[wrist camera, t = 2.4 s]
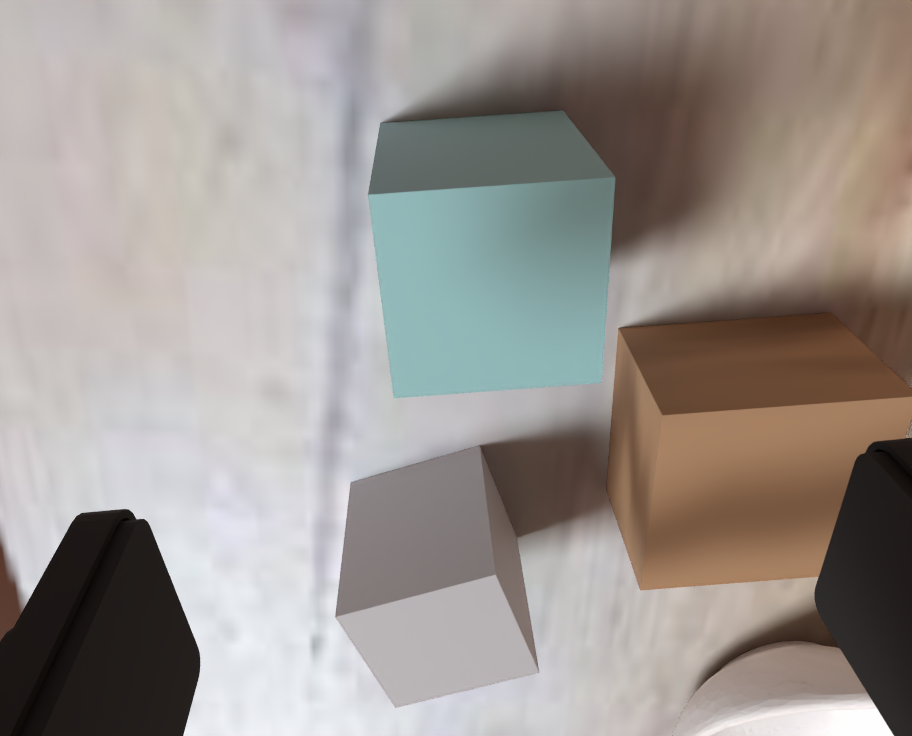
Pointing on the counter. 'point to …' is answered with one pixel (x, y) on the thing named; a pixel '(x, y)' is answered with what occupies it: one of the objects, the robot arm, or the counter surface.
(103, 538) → the robot arm
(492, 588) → the grey block
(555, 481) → the counter surface
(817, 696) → the spoon rest
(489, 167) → the teal block
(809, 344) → the walnut block
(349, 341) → the counter surface
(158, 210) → the counter surface
